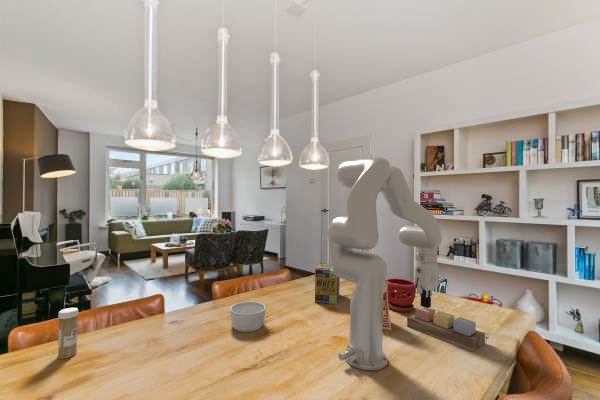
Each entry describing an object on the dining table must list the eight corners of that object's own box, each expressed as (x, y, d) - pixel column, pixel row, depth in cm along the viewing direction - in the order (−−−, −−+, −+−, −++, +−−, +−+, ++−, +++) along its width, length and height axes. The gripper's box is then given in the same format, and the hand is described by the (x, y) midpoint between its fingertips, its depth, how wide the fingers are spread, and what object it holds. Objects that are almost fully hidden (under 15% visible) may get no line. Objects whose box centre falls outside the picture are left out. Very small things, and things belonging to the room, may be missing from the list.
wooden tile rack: (471, 351, 92) (471, 341, 92) (407, 326, 110) (407, 317, 110) (484, 343, 98) (484, 333, 98) (421, 320, 116) (421, 311, 116)
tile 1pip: (469, 336, 95) (469, 325, 95) (453, 330, 99) (453, 320, 99) (475, 332, 98) (475, 321, 98) (460, 327, 102) (460, 316, 102)
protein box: (314, 302, 135) (314, 269, 135) (319, 292, 150) (319, 262, 150) (337, 304, 132) (337, 270, 132) (339, 294, 147) (340, 263, 147)
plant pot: (420, 314, 123) (421, 285, 123) (389, 313, 123) (389, 285, 123) (409, 303, 136) (409, 277, 136) (381, 302, 136) (381, 277, 136)
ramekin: (272, 326, 109) (273, 307, 109) (243, 337, 99) (244, 317, 99) (251, 316, 118) (251, 298, 118) (222, 325, 108) (223, 307, 108)
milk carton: (391, 330, 107) (392, 275, 107) (366, 327, 109) (366, 274, 109) (389, 320, 116) (389, 270, 116) (365, 317, 118) (366, 268, 118)
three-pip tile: (428, 321, 106) (428, 311, 106) (415, 317, 110) (415, 307, 110) (435, 318, 109) (435, 308, 109) (422, 314, 113) (422, 305, 113)
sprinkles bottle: (72, 358, 84) (73, 312, 84) (53, 360, 83) (54, 313, 83) (80, 350, 89) (81, 306, 89) (63, 352, 88) (64, 307, 88)
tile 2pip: (447, 328, 100) (447, 318, 101) (433, 323, 104) (433, 313, 104) (454, 325, 104) (454, 314, 104) (440, 320, 108) (440, 310, 108)
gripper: (425, 262, 102) (424, 314, 102) (445, 257, 111) (445, 305, 111) (406, 258, 108) (405, 307, 108) (427, 254, 117) (426, 299, 117)
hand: (425, 306), depth 110 cm, fingers closed
